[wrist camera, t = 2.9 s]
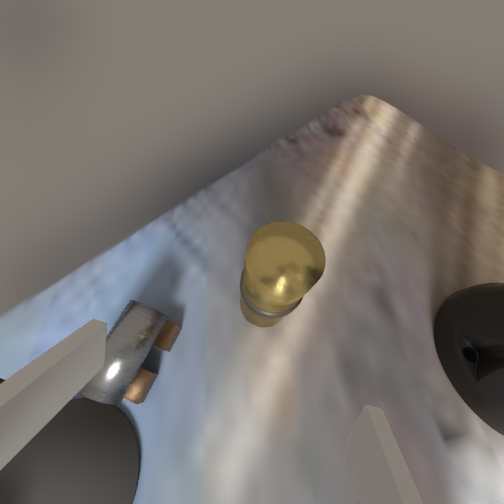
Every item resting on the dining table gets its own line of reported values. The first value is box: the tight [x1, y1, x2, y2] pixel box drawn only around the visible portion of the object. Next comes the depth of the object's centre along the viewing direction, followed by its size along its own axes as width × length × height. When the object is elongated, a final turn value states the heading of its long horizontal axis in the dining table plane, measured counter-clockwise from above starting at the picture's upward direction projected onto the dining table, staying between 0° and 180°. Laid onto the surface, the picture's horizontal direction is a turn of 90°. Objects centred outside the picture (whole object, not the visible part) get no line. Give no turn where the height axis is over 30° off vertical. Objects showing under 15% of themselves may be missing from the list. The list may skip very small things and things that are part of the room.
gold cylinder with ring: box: [240, 221, 325, 327], centre depth 20 cm, size 5×5×12 cm
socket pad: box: [0, 399, 140, 504], centre depth 18 cm, size 11×11×1 cm
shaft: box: [78, 300, 182, 405], centre depth 20 cm, size 7×5×5 cm
